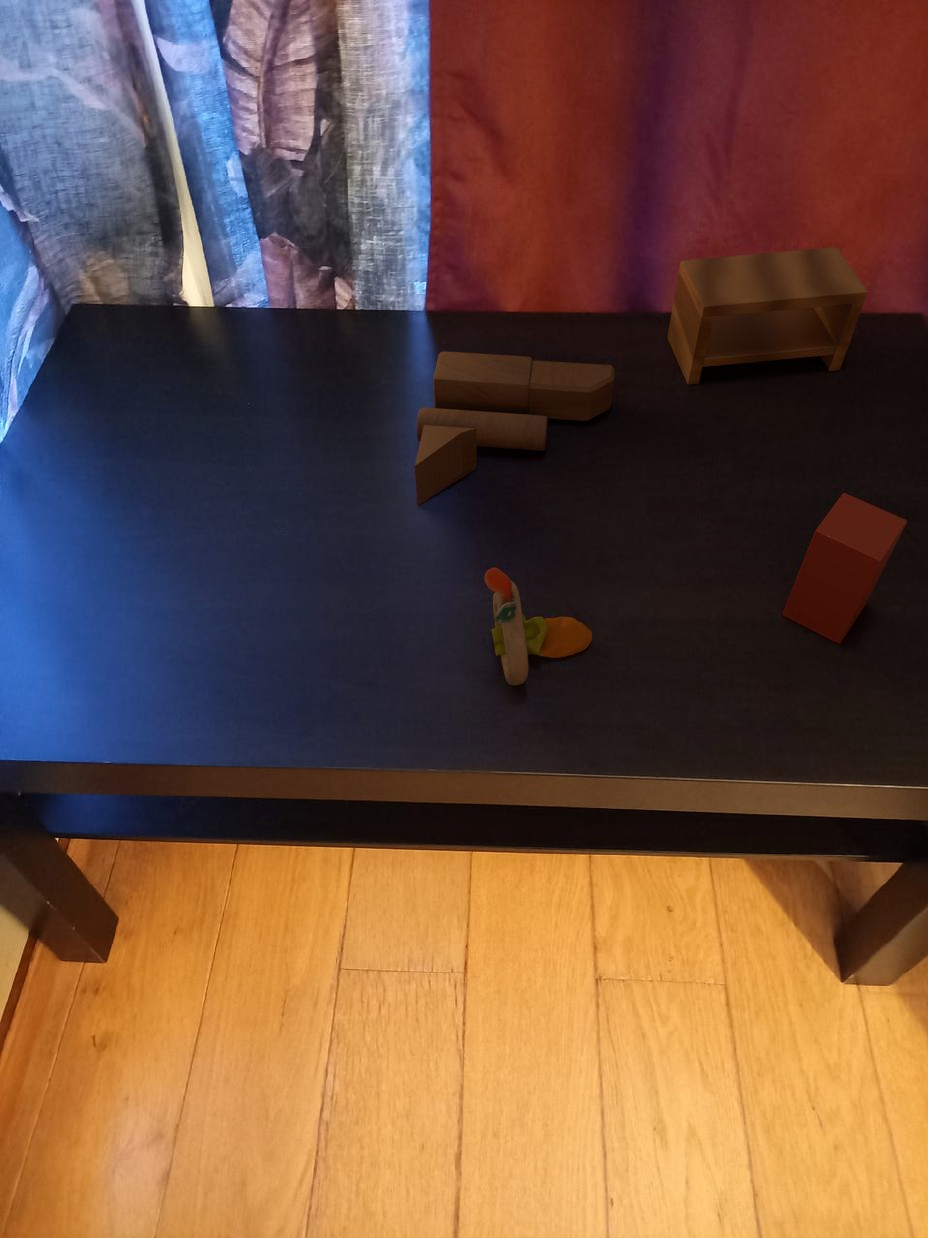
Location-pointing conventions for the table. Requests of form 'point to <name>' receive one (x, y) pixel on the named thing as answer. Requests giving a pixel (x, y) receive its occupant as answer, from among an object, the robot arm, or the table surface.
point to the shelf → (764, 309)
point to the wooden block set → (499, 409)
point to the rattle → (528, 631)
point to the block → (842, 566)
